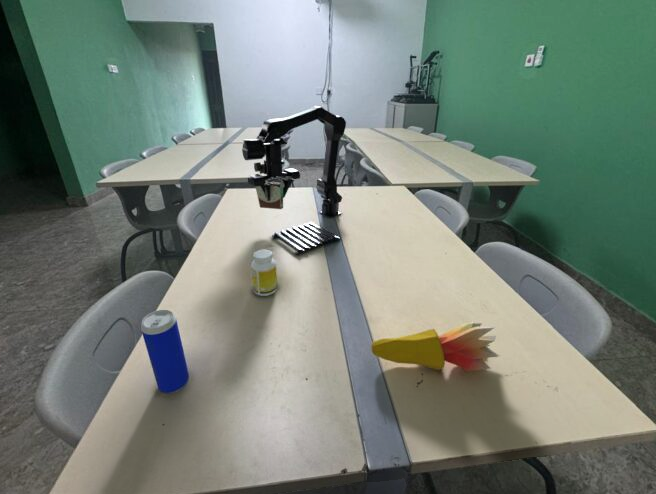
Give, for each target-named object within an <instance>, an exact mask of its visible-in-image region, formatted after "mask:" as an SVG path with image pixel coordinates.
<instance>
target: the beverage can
mask: <svg viewBox="0 0 656 494" xmlns="http://www.w3.org/2000/svg"><path fill="white" fill-rule="evenodd" d="M140 330H141V334H142V338H143V341H144V345H145V347H146V351H147V354H148V359H149V362H150V365H151V369H152V372H153V375H154V379H155V382H156V386H157V389H158V391H159V392H161V393H163V394H174V393H177V392H179V391H180V390H182V389H183V388H184V387H185V386H186V385H187V383H188V381H189V379H190V373H189V369H188V365H187V359H186V355H185V350H184V346H183V342H182V338H181V333H180V329H179V324H178V321H177V317H176V315H175V314H174V312H173V311H172V310H169V309H157V310H154V311H152V312H150V313H148V314H147V315H145V316H144V317H143V319H142V320H141V325H140Z"/></svg>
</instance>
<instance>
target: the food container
mask: <svg viewBox="0 0 656 494" xmlns="http://www.w3.org/2000/svg"><path fill="white" fill-rule="evenodd" d="M268 184H269V185H270V201H267V199H266V197H265V194H264V192H263V190H262V188H261V187H260V186H257V187H256V186H253V187H254V188H255V191H256V195H257V200H258V205H259V208H261V209H271V210H272V209H274V210H283V209H284V198H283V187H285V185H284V182H283V180H280V179H275V180H269V181H268Z"/></svg>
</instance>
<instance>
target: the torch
mask: <svg viewBox="0 0 656 494" xmlns="http://www.w3.org/2000/svg"><path fill="white" fill-rule="evenodd" d="M482 325H483V323H480V322H479V323H478V322H477V323H476V321H470V322H465V323H463V324H461V325H458V326H457V327H455V328H453V329H451V330H449V331H448V332H445V333H443V334H441V335H438V332H437V331H436V329H435V328H431V329H427V330H425V331H424V330H423V331H421V332H417V333H414V334H408V335H403V336H400V337H399V336H398V337H394V338H391V337H390V338H389V337H388V338H381V339H378V340H374V341H373V342H371V346H370V348H371V352H372V354H373V355H374V356H375V357H378V358H380V359H383V360H385V361H389V362H392V363H397V364H407V365H418V366H422V367H424V366H425V367H426V368H430V369H432V370H437V371H440V370H441V369H443V368H444V367H445V364H446V362H447V363H449V364H452V365H454V366H457V367H459V368H461V369H462V370H463V371H465V372H472V371H480V370H481V371H482V370H490V369H491V368H492V367H490V365H488V364H487V363H486V362H488V359H489V358H498V357H501V355H500V354H498V353H497V352H496V351H495V350H493V349H491V348H489V347H491V345H490V344H491V343H494V342H495V341H496V337H497V335H487V336H486V334H488V333H489V332H491V331H493V329H495V328H496V327H493V326H482Z"/></svg>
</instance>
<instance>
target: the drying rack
mask: <svg viewBox="0 0 656 494" xmlns="http://www.w3.org/2000/svg"><path fill="white" fill-rule="evenodd" d="M271 237H272V239H278V238H279V239H281V240H282V241H284V242H285V243H286V244H288V245H289V246H290V247H292V248H294V249H295V250H296V251H295V255H297V256H300V255H302V254H305V253H307V252H311V251H313V250H316V249H319V248H323V247H324V246H328V245H330V244H332V243H335V242H338V241H340V240H341V237H340V236H337V235H336V234H335V233H332V232H331V231H329V230H326V229H325V228H323V227H321V226H320V225H317V224H316V223H315V222H312V221H310V222H308V223H303V224H302V225H301V224H299V225H297V227H296V226H293V227H291V228H286V230H284V229H282V230H280V231H279V232H278V231H275V232H274V233H273V234H272V235H271Z"/></svg>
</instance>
